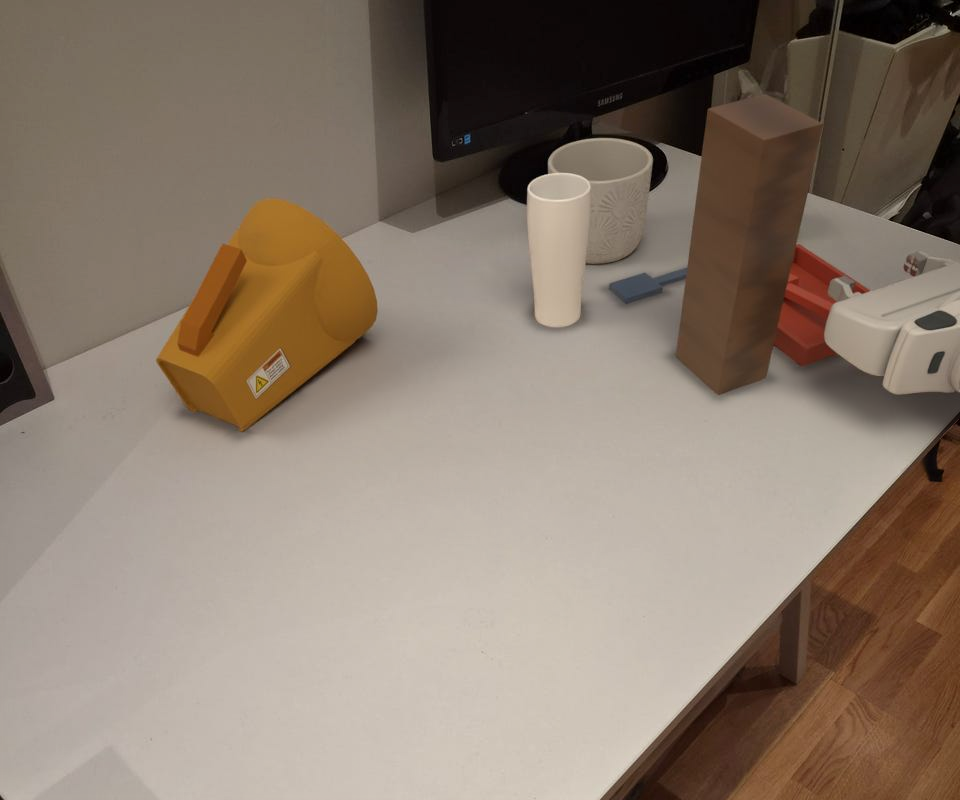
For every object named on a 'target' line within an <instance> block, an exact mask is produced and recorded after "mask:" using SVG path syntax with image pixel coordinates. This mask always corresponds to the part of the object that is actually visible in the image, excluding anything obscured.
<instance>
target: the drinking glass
mask: <svg viewBox="0 0 960 800" xmlns="http://www.w3.org/2000/svg"><path fill="white" fill-rule="evenodd" d="M590 220H591V184H590V182H589V181H588V180H587V179H585V178H584V177H582V176H579V175H576V174H571V173H552V174H548V173H547V174H544V175H540V176H538V177H536V178H534V179H532V180H531V181H530V182H529V184H528V185H527V189H526V227H527V228H526V229H527V240H528V249H529V260H530V269H531V279H532V288H533V299H534V318H535V320H536V321H537V322H538V323H539V324H540V325H543V326H544V327H549V328H564V327H565V328H566V327H568V326H571V325H574V324H576V323H577V322H578V321H579V319H580V318H581V314H582V298H583V297H582V296H583V290H584V289H583V287H584V279H585V273H586V265H587V264H586V256H587V248H588V240H589V232H590Z"/></svg>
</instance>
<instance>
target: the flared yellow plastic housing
mask: <svg viewBox="0 0 960 800" xmlns="http://www.w3.org/2000/svg"><path fill="white" fill-rule="evenodd" d="M377 316H378V299H377V296H376V292H375V288H374V286H373V283H372V281H371V278H370V276H369V274H368V272H367V271H366V269H365V267H364V266H363V264H362V263H361V261H360V259H359V258H358V257H357V255H356V254H355V253H354V251H353V250H352V249H351V248H350V246H349V245H348V244H347V242H345V241H344V239H343V238H342V237H341V236H340V235H339V234H338V233H337V232H336V231H335V230H334V229H332V227H330V226H329V225H328V223H326V222H325V221H323V220H322V219H320V218H319V217H318V216H317V215H315V214H314V213H313V212H311V211H310V210H307V209H305V208H304V207H302V206H300V205H298V204H296V203H293V202H291V201H288V200H285V199H283V198H282V199H281V198H275V197H270V198H263V199H261V200H259V201H257V202H255V203H254V205H253V206H252V207H251V208H250V209H249V210H248V211H247V214H245V216H244V218H243V220H242V221H241V223H240V225H239V228H237V229H236V230H235V231H234V232H233V234H232V236H231V238H230V239H229V241H228V243H227V244H225V243H222V244H221V246H220V248H219V249H218V251H217V254H216V255H215V257H214V258H213V261H212V262H211V265H210V267H209V269H208V270H207V272H206V275H205V276H204V278H203V281H202V282H201V284H200V286H199V287H198V290H197V292H196V294H195V295H194V297H193V299H192V300H191V302H190V304H189V306H188V307H187V309H186V310H185V312H184V314H183V316H182V317H181V319H180V320H179V322H177V325H176V326H175V327H174V330H173V332H172V333H171V334H170V336H169V338H168V340H167V341H166V343H165V344H164V346H163V348H162V349H161V351H160V352H159V354H158V355H157V357H156V359H155V361H156V364H157V366H158V367H159V368H160V370H161V372H162V373H163V374H164V376H165V377H166V379H167V380H168V382H169V383H170V385H171V386H172V388H173V389H174V390H175V392H176V393H177V395H178V397H179V398H180V399H181V401H182V403H183V404H184V405H185V407H187V409H188V410H189V411H191V412H193V413H196V412H197V411H199V412H202V413H205V414H207V415H209V416H211V417H214V418H216V419H219V420H221V421H224V422H226V423H229V424H231V425H233V426H236V427H238V428H239V429H238V432H241V433H243V432H244V431H246V430H247V429H249V428H250V427H251V426H253V425H254V424H255V423H256V422H258V420H260V419H261V418H262V417H264V416H265V415H266V414H267V413H269V412H270V411H271V410H272V409H273V408H275V407H276V406H277V405H278V404H280V403H282V401H284V400H285V399H286V398H287V397H288V396H290V395H291V394H292V393H294V392H295V391H296V390H297V389H298V388H300V387H301V386H302V385H304V383H306V382H307V381H308V380H309V379H311V378H312V377H313V376H314V375H315V374H317V373H318V372H319V371H321V370H322V369H323V368H324V367H326V366H327V365H328V364H329V363H331V362H332V361H333V360H335V359H336V358H338V356H339V355H341V354H342V353H343V352H345V350H347V349H349V347H351V346H352V345H353V344H354V343H355V342H356V341H357V340H359V339H360V338H361V337H363V335H365V334H366V333H367V332H368V331H369V330H370V329H371V328H373V325H374V324H375V322H376V321H377Z"/></svg>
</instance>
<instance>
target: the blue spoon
mask: <svg viewBox="0 0 960 800" xmlns="http://www.w3.org/2000/svg"><path fill="white" fill-rule="evenodd" d="M686 273H687V267H685V268H681V269H678V270H675V271H672V272H668V273H665V274H662V275H658V276H655V277H651V276H650V275H649V274H647V273H646V272H642V273H639V274H635V275H633V276H629V277H626V278H623V279H619V280H616V281H613V282H610V283H609V284H608V285H609V286H608V290H610V291H611V293H612V294H614V295H615V296H616V297H617V298H618V299H620V300H621V301H622V302H623V303H624V304H626V305H627V304H631V303H634V302H637V301H640V300H644V299H646V298H649V297H650V298H651V297H653V296H656V295H659V294H663V289H664V286H667V285H669V284H673V283H676V282H679V281H682V280H684V279H685V280H686Z"/></svg>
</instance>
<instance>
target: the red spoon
mask: <svg viewBox="0 0 960 800" xmlns="http://www.w3.org/2000/svg"><path fill="white" fill-rule="evenodd" d="M798 284H799V277H796V276H794V275H792V274H789V279H788V283H787V287H786V292H785V296H784V297H785V298H787V299H789V300H791V301H793V302H795V303H797V304H799V305H801V306H803V307H805V308H807V309H809V310H811V311H813V312H815V313H817V314H819V315H821V316H823V317H825V318H828V315H829V312H830V309H831V307H832V305H833V304H832V303H830V302H828V301H826V300H824V299H822V298H820V297H818V296H816V295H814V294H812V293H810V292H808V291H806V290H804V289H802V288H800V287H798Z"/></svg>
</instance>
